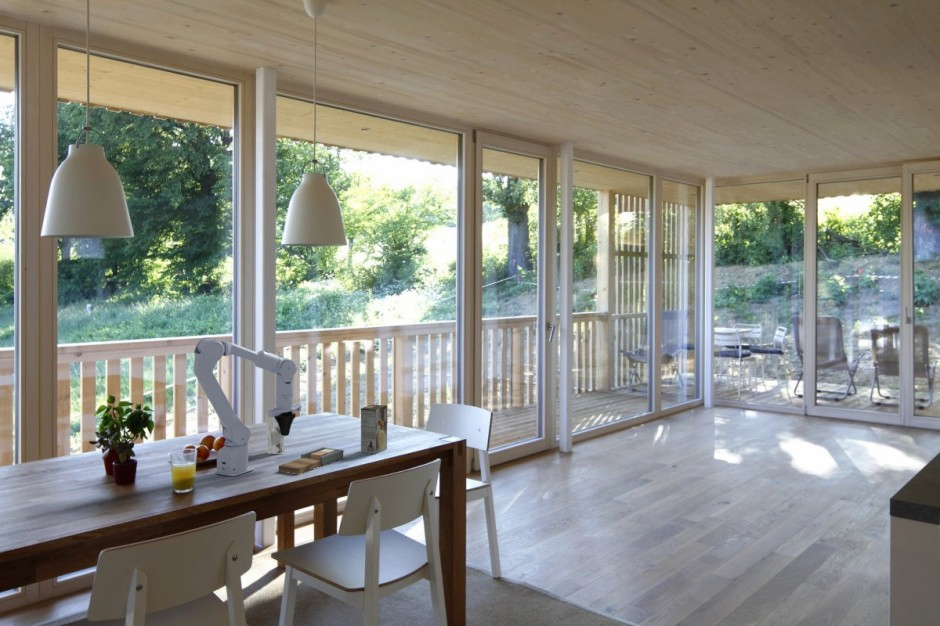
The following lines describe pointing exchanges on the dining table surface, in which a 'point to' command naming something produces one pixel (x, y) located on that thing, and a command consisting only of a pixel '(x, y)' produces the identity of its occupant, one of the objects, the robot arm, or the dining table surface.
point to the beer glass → (274, 436)
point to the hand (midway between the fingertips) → (284, 435)
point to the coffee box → (373, 429)
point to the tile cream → (327, 451)
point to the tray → (327, 458)
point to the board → (300, 465)
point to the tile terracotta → (317, 455)
